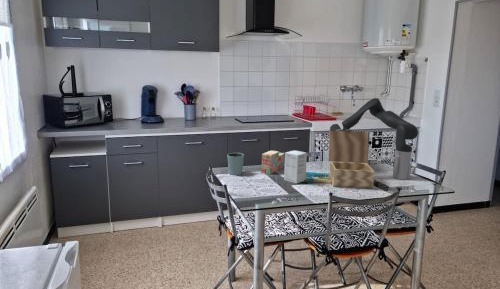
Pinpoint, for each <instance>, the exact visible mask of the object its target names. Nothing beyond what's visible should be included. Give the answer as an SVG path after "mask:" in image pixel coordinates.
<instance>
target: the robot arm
mask: <svg viewBox="0 0 500 289" xmlns="http://www.w3.org/2000/svg"><path fill="white" fill-rule="evenodd" d="M367 111H369V113H370V115H372V116H373V117H375V118H377V119H379V120H380V121H381V122H382V123H383V124H384V125H386V126H387V127H388V128H390V129H394V130H396V131H395V142H394V144H395V151H394V152H395V153H394V160H393V161H394V162H393V170H392V177H393V179H397V180H402V181H403V180H410V179H411V174H412V173H411V171H412V163H411V160H412V153H413V146H412V145H410V144H407V142H406V141H408V140H414V139H416V138H417V137H418V135H419V132H418V128H417V126H416V125H414V124H413V123H410V122H408V121H407V120H405V119H403V117H401V116H399V115H398V114H397V113H395V112H394V111H392V110H385V109H384V107H383V105H382V103H381V100H380V99H379V98H377V97H376V98H375V97H374V98H372V99H370V100H368V101H367V102H366V103H365V104H363V106H361V107H360V108H359V109H357V111H355V113H353V114H352V115H350V116H349V117H347V118H346V119H344V120H343V121H342V122H341V125H342V128H341V126H340V125H339V124H338V123H333V124H331V126H330V127H329V131H346V130H347V129H350V130H351V128H353V127H354V126H356V125H357V124H359V122H360V120H361V119H362V117H363V115H364V114H365V113H366V112H367Z"/></svg>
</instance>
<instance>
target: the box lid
mask: <svg viewBox="0 0 500 289" xmlns="http://www.w3.org/2000/svg"><path fill="white" fill-rule="evenodd" d="M368 153H369V132H368V131H353V129H351V128H350V129H347V130H346V131H330V130H329V132H328V162H351V163H367V164H369V162H368V161H369V154H368Z"/></svg>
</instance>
